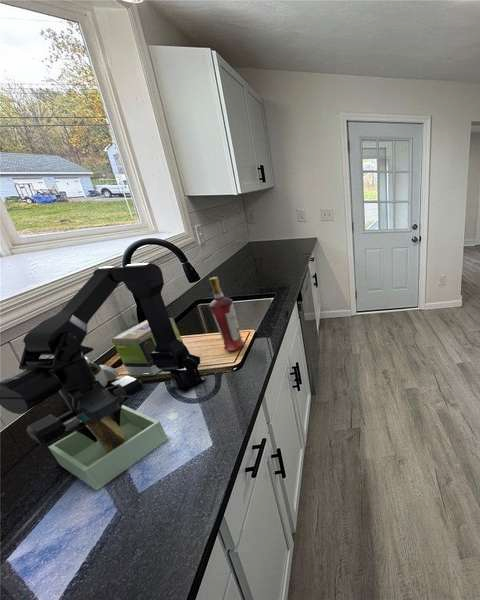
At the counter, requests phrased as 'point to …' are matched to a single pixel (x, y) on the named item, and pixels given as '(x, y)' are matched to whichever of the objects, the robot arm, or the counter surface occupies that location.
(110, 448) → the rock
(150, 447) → the shallow rectangular tray
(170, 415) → the counter surface
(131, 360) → the tea box
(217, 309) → the liquor
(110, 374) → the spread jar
